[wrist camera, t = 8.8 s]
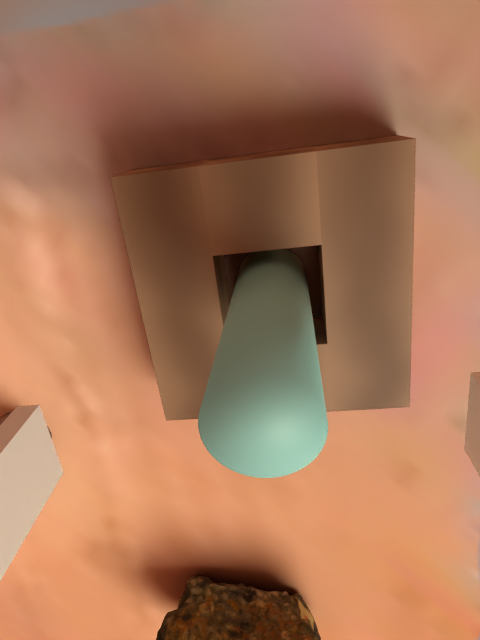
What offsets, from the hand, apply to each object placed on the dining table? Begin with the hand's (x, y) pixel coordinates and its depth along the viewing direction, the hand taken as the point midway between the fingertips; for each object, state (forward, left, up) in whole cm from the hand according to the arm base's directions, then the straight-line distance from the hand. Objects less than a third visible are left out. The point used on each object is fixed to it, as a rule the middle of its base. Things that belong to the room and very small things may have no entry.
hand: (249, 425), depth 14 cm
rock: (-5, -28, -14) cm, 32 cm away
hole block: (0, 0, -14) cm, 14 cm away
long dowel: (0, 0, -14) cm, 14 cm away
